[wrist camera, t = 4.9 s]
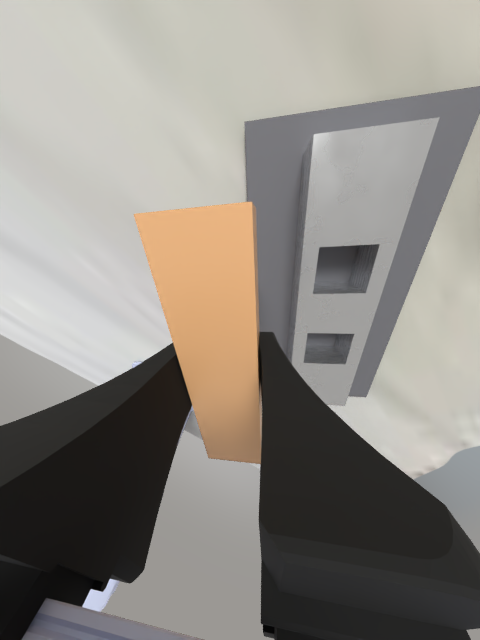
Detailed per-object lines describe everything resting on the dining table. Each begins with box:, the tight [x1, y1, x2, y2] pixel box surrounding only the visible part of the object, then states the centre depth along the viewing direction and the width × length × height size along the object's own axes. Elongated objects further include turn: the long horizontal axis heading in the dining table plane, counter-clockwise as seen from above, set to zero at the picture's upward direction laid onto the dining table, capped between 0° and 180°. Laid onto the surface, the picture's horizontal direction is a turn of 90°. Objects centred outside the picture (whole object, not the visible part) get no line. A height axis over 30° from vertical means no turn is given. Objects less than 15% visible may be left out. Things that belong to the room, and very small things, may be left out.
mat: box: [245, 86, 480, 397], centre depth 17 cm, size 26×14×1 cm, turn 4°
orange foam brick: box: [134, 202, 262, 464], centre depth 10 cm, size 12×3×6 cm, turn 5°
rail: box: [287, 117, 440, 406], centre depth 16 cm, size 22×6×3 cm, turn 4°
